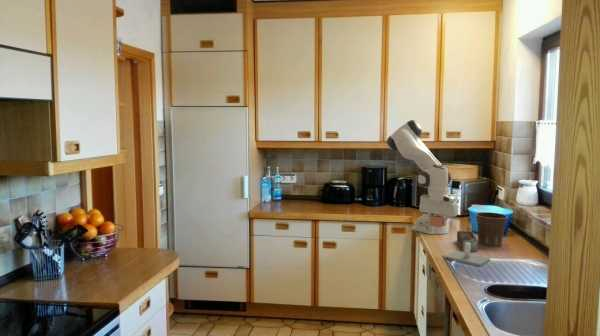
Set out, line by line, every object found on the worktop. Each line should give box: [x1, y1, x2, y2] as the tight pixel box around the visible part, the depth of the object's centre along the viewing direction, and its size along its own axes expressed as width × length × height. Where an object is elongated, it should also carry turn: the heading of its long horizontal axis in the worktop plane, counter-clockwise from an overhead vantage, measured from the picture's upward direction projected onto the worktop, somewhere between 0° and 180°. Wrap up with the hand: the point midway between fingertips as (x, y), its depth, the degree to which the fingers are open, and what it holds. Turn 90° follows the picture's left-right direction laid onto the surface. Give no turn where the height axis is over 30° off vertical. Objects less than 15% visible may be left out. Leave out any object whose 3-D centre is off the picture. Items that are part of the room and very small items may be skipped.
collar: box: [429, 214, 446, 227], centre depth 238 cm, size 6×6×5 cm
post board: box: [443, 243, 491, 267], centre depth 224 cm, size 18×12×8 cm, turn 47°
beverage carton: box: [456, 230, 479, 252], centre depth 248 cm, size 8×19×7 cm, turn 170°
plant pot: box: [475, 211, 509, 247], centre depth 253 cm, size 16×16×16 cm
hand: (437, 222), depth 238 cm, fingers closed on collar, 6 cm apart
